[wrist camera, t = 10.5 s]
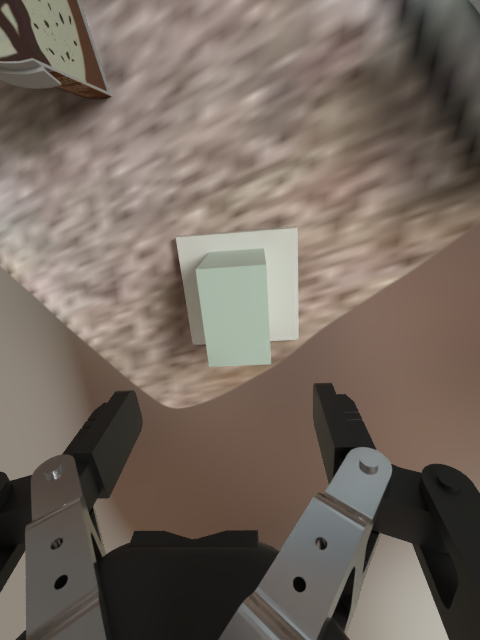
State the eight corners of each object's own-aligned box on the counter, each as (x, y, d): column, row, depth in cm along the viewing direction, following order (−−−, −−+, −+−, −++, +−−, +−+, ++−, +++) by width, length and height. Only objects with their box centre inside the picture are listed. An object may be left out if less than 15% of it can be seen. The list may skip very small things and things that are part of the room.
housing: (209, 252, 28) (195, 269, 21) (263, 248, 27) (266, 264, 21) (218, 330, 31) (209, 366, 24) (267, 328, 30) (271, 364, 24)
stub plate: (178, 235, 28) (168, 241, 25) (295, 226, 28) (301, 231, 24) (194, 339, 33) (187, 356, 29) (297, 334, 32) (301, 351, 28)
